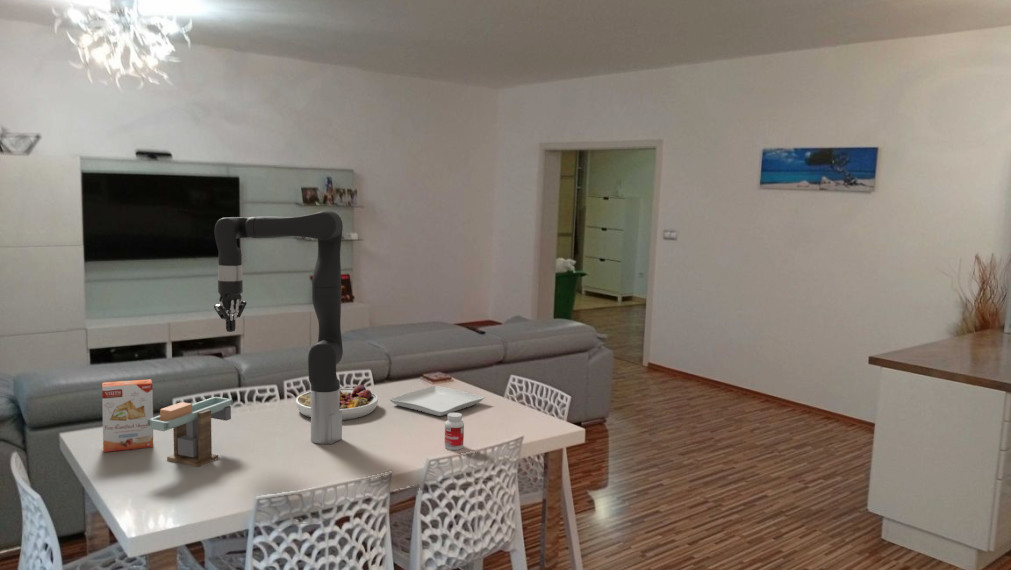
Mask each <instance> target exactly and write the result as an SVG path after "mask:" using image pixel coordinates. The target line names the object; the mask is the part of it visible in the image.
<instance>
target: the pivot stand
mask: <svg viewBox="0 0 1011 570" xmlns="http://www.w3.org/2000/svg"><path fill="white" fill-rule="evenodd" d="M172 429H173V454H171V455H169V456H167V457H166V459H167V461H168V460H169V462H175V463H177V464H178V463H179V464H184V465H187V466H191V467H192V466H193V467H198V468H199V467H201V466H203V465H206V464H208V463H210V462H211V463H212V462H213V461H216V460H218V459H219V455H218V454H213V452H212V451H213V447H212V439H213V438H212V418H211V410H205V411H202V412H199V413H198V456H196V457H189V456H184V455H179V454H178V440H177V438H179V437H182V436H184V435H187V430H186V423H185V424H183V425H180V426H177V427H174V428H172ZM215 459H216V460H215Z"/></svg>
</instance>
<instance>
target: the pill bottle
mask: <svg viewBox="0 0 1011 570" xmlns="http://www.w3.org/2000/svg"><path fill="white" fill-rule="evenodd" d="M462 419H463V414H462V413H461V412H452V413H449V414H447V420H446V421H445V423H444V448H445V449H446V450H450V451H457V450H461V449H463V447H464V438H465V437H464V435H465V423H464V421H463V420H462Z"/></svg>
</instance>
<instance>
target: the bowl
mask: <svg viewBox="0 0 1011 570" xmlns="http://www.w3.org/2000/svg"><path fill="white" fill-rule="evenodd" d="M295 404H296V405H295V406H296V408H297V410H298V412H299V413H301V414H302V415H303V416H305V417H306V418H307V417H308V418H310V417H311V391H307V392H304V393H302V394H299V396H297V397H296V398H295ZM378 404H379V397H378V395H377V394H376V393H374V392H372V391H371V390H369V389H367V388H366V386H364V385H363V384H358V385H356V386H355V387H354V388H349V387H348V388H346V387H344V388H343V387H342V388H341V387H340V411H342V421H347V419H348V420H353V419H358V417H359V418H361V417H364V416H367V415H369V414H370V413H372V412H373V411H374V410H375V409H376V408H377V405H378Z"/></svg>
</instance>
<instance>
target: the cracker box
mask: <svg viewBox="0 0 1011 570" xmlns="http://www.w3.org/2000/svg"><path fill="white" fill-rule="evenodd" d="M101 384H102V385H101V393H102V394H101V395H102V397H101V398H102V399H101V400H102V404H101V405H102V406H101V407H102V449H103V451H102V452H103V453H107V452H116V451H127V450H128V451H129V450H136V449H146V448H154V429H151V428H150V425H148V419H150V418H153V417H154V404H153V403H154V402H153V401H154V398H153V396H154V395H153V393H154V392H153V388H154V387H153V380H152V379H151V378H149V379H138V380H137V379H136V380H135V379H134V380H133V379H132V380H120V381H119V380H118V381H105V382H102V383H101Z"/></svg>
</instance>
